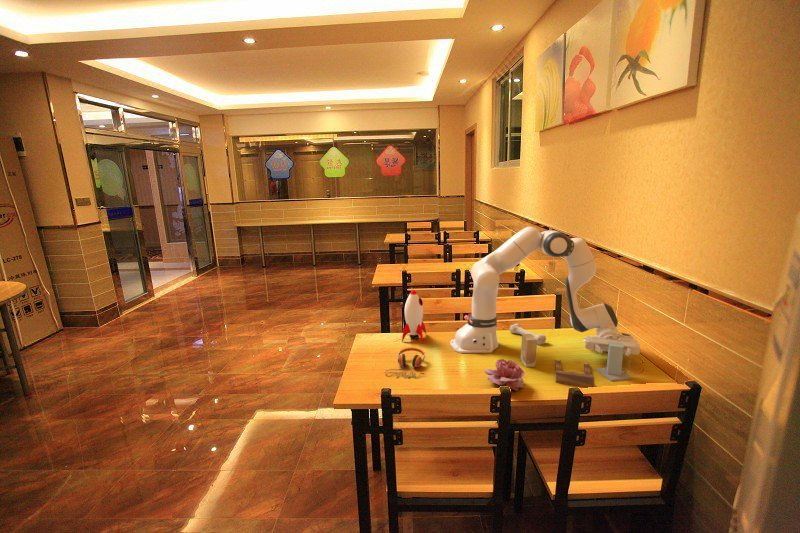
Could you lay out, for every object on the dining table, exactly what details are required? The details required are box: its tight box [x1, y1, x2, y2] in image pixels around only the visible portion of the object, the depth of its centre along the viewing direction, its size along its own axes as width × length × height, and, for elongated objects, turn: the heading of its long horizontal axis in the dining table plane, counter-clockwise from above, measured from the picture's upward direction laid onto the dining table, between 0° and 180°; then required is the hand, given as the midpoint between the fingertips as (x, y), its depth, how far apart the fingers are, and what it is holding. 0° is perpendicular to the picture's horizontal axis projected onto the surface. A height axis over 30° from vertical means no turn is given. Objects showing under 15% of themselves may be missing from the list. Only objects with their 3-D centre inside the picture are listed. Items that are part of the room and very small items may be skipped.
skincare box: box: [520, 334, 538, 368], centre depth 169 cm, size 6×4×12 cm
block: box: [606, 341, 624, 376], centre depth 158 cm, size 4×4×12 cm
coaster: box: [595, 367, 633, 382], centre depth 159 cm, size 9×9×1 cm
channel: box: [554, 359, 595, 388], centre depth 160 cm, size 18×13×4 cm
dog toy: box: [509, 323, 547, 346], centre depth 197 cm, size 20×6×5 cm, turn 29°
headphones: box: [384, 346, 426, 380], centre depth 169 cm, size 17×5×20 cm
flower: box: [484, 358, 526, 392], centre depth 152 cm, size 15×15×10 cm
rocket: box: [401, 289, 427, 343], centre depth 198 cm, size 11×11×25 cm
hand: (613, 352), depth 161 cm, fingers open, 8 cm apart
